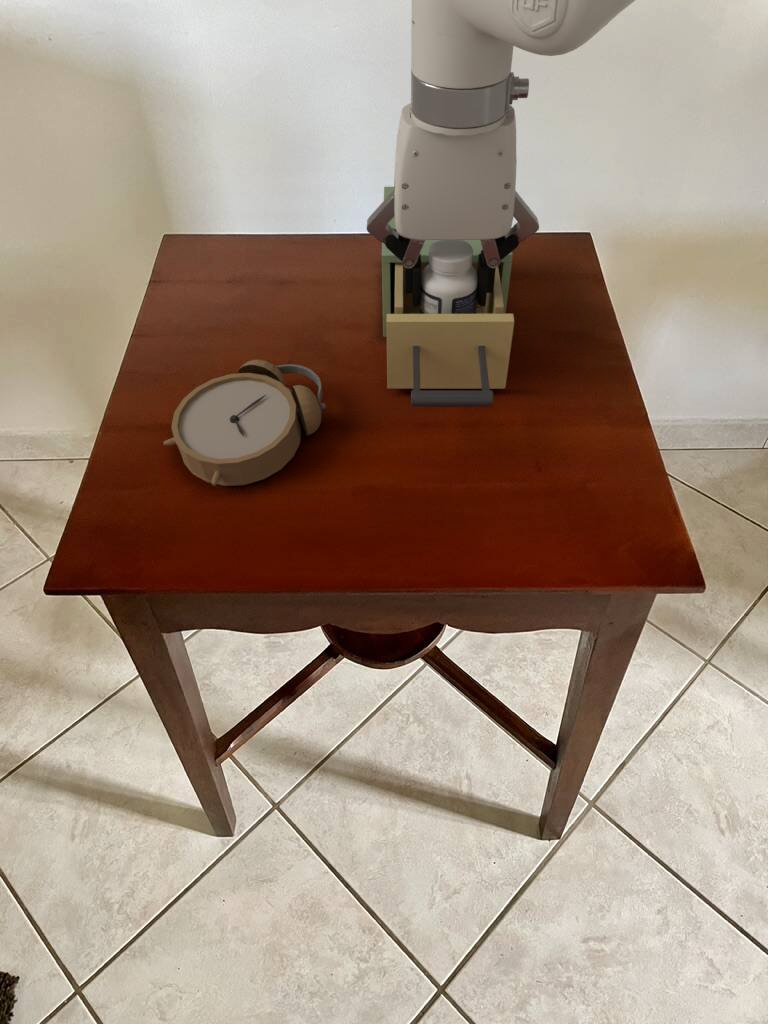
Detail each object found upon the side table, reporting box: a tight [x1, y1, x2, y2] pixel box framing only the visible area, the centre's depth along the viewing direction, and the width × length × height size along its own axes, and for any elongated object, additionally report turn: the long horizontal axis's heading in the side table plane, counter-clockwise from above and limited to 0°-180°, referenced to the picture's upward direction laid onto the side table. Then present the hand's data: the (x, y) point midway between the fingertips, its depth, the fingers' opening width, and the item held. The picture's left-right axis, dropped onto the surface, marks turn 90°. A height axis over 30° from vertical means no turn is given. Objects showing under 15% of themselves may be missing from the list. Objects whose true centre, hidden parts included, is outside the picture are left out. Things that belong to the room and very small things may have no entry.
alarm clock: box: [163, 359, 327, 487], centre depth 71 cm, size 11×5×15 cm
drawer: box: [386, 262, 515, 408], centre depth 74 cm, size 20×11×8 cm, turn 179°
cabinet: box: [381, 186, 514, 338], centre depth 83 cm, size 14×13×10 cm
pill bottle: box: [420, 240, 478, 314], centre depth 73 cm, size 5×5×10 cm
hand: (448, 296), depth 73 cm, fingers closed on pill bottle, 5 cm apart
